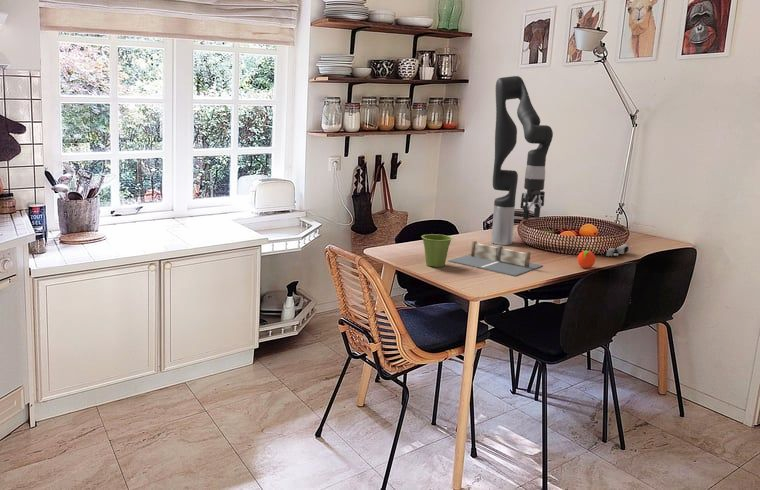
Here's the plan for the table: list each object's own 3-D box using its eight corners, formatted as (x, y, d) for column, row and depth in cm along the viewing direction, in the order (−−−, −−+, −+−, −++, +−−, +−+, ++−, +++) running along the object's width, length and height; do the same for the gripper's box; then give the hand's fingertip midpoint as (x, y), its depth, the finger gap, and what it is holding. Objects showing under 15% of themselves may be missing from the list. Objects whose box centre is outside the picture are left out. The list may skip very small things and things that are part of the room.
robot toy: (617, 262, 281) (631, 254, 292) (618, 251, 280) (632, 244, 291) (590, 256, 289) (605, 249, 300) (590, 246, 288) (605, 239, 299)
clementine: (591, 271, 260) (593, 253, 259) (573, 268, 263) (575, 251, 262) (596, 267, 267) (598, 249, 265) (578, 264, 270) (580, 247, 269)
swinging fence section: (495, 260, 268) (496, 246, 267) (498, 259, 270) (499, 246, 268) (527, 267, 259) (528, 253, 258) (530, 266, 261) (531, 252, 259)
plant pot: (456, 266, 261) (458, 237, 258) (437, 270, 252) (438, 241, 250) (433, 260, 269) (435, 232, 266) (413, 264, 260) (415, 236, 258)
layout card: (477, 252, 284) (477, 251, 284) (542, 266, 265) (542, 265, 265) (448, 261, 267) (448, 260, 267) (515, 276, 249) (515, 275, 248)
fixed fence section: (470, 256, 276) (471, 241, 274) (472, 255, 277) (473, 241, 276) (494, 261, 268) (495, 246, 267) (497, 260, 270) (498, 245, 269)
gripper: (535, 175, 267) (531, 215, 270) (517, 177, 257) (513, 218, 260) (552, 177, 262) (548, 218, 266) (534, 179, 252) (530, 221, 255)
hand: (531, 218), depth 263 cm, fingers open, 8 cm apart
